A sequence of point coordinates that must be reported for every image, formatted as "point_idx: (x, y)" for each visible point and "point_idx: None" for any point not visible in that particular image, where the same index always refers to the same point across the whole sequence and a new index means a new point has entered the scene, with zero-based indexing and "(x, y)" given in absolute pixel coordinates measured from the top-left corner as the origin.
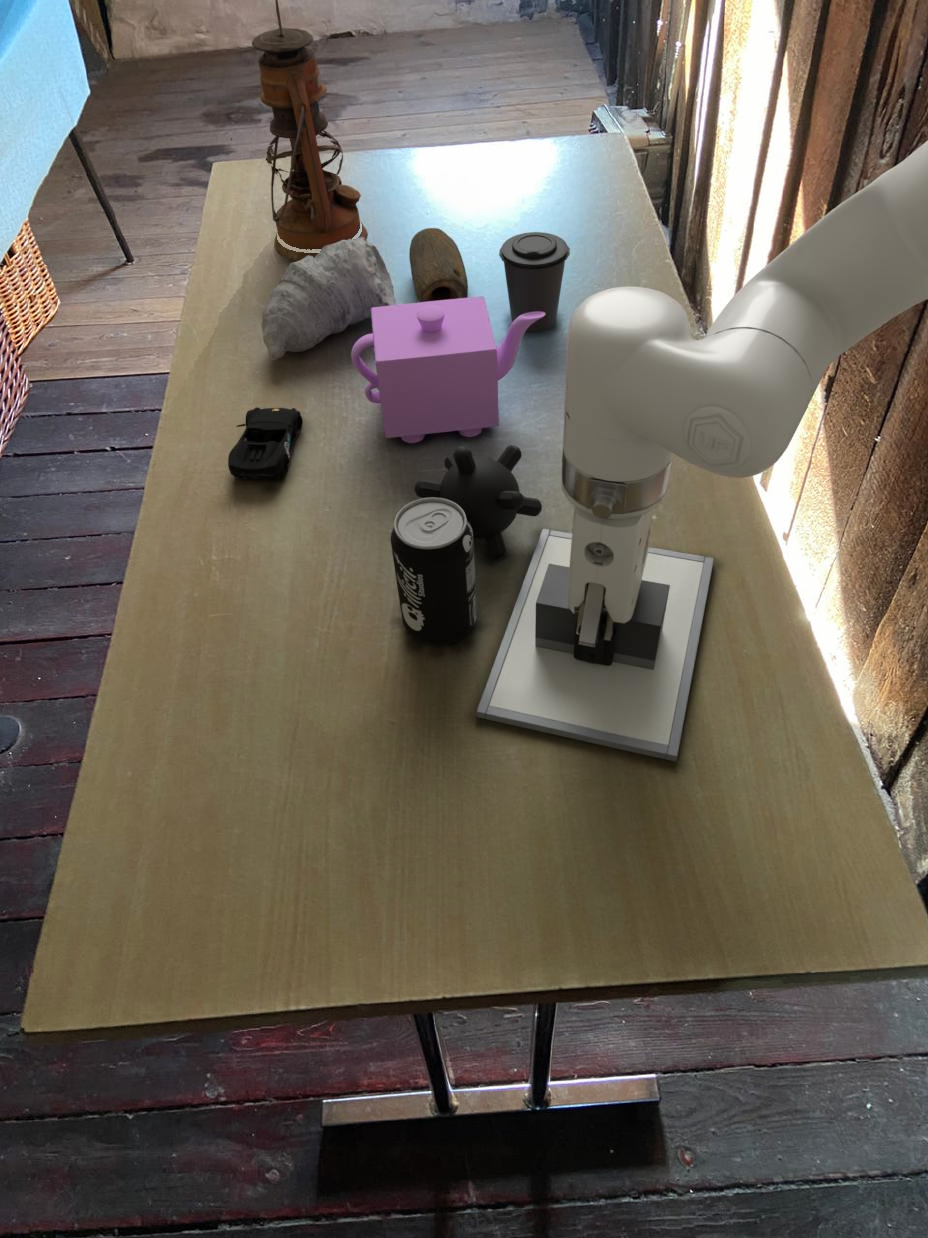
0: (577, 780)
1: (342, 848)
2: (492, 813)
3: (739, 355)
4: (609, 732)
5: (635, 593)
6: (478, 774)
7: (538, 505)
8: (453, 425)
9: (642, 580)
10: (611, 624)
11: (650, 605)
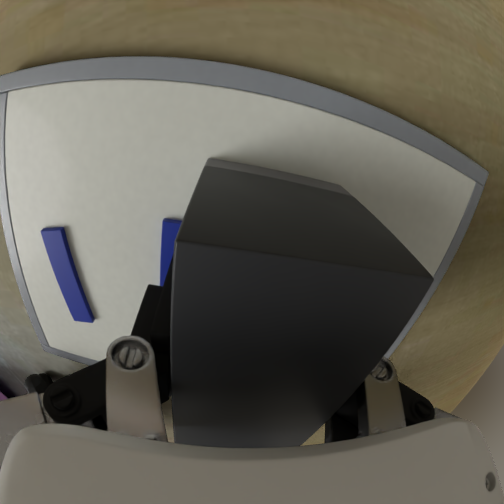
0: (460, 285)
1: (428, 398)
2: (452, 342)
3: None
4: (439, 264)
5: (471, 495)
6: (418, 361)
7: (32, 389)
8: (2, 399)
9: (173, 347)
10: (400, 404)
11: (325, 320)
